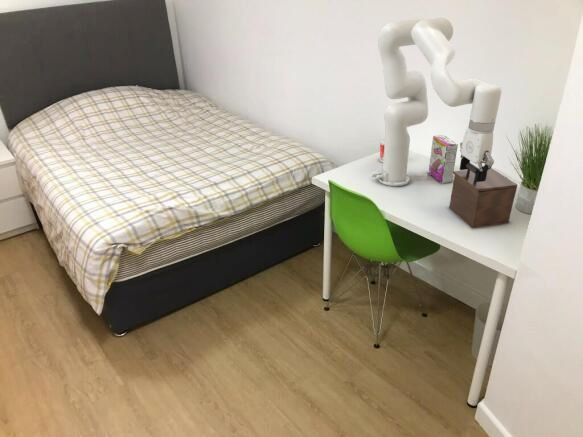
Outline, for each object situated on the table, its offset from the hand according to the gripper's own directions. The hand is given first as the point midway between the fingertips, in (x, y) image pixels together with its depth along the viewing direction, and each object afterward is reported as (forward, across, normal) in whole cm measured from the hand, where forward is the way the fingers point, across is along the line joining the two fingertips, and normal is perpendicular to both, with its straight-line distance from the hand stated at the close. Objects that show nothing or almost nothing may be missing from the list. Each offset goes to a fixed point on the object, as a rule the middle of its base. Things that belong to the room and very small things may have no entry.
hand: (472, 175), depth 154 cm
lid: (+2, 0, +5) cm, 5 cm away
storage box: (+16, 0, +5) cm, 17 cm away
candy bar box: (+16, -32, +8) cm, 37 cm away
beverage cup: (+16, -55, -6) cm, 58 cm away
